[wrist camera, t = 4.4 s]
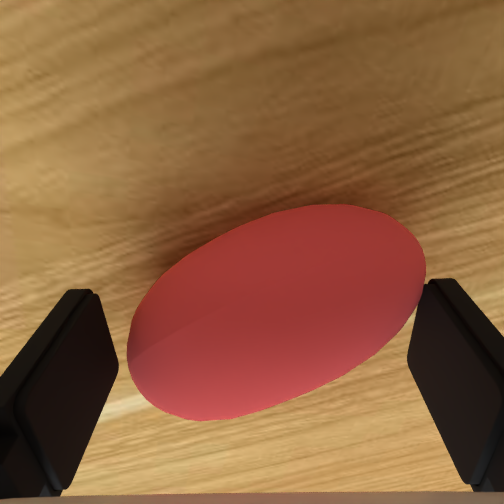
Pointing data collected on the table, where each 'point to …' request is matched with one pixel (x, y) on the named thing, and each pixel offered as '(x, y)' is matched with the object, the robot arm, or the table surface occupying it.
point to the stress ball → (274, 310)
